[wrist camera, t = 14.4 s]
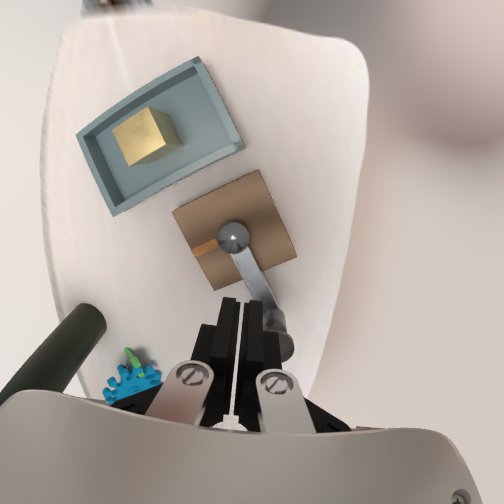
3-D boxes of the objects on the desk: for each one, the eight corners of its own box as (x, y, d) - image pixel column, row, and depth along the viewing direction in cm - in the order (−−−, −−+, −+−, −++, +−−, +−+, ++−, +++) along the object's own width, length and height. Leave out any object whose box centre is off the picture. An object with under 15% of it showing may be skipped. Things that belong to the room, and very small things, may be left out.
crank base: (294, 250, 33) (297, 257, 31) (216, 283, 34) (214, 291, 32) (258, 169, 30) (258, 170, 28) (176, 208, 31) (171, 212, 29)
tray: (245, 147, 29) (244, 146, 26) (126, 210, 31) (113, 217, 28) (204, 65, 26) (198, 55, 22) (91, 135, 28) (75, 134, 25)
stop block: (183, 145, 28) (165, 144, 22) (152, 162, 29) (128, 166, 23) (168, 113, 27) (147, 106, 21) (137, 132, 28) (112, 129, 22)
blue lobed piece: (156, 407, 41) (103, 417, 33) (140, 383, 44) (89, 390, 37) (172, 361, 39) (111, 368, 31) (153, 337, 42) (96, 340, 35)
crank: (211, 229, 30) (198, 252, 23) (243, 214, 29) (238, 233, 22) (264, 328, 33) (265, 368, 27) (292, 318, 33) (299, 356, 26)
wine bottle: (111, 336, 38) (14, 501, 10) (82, 334, 38) (-17, 477, 10) (99, 303, 36) (-25, 468, 8) (70, 302, 36) (-51, 444, 8)
